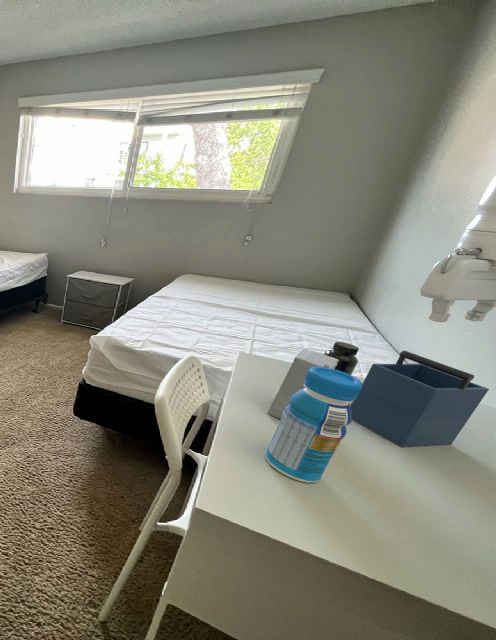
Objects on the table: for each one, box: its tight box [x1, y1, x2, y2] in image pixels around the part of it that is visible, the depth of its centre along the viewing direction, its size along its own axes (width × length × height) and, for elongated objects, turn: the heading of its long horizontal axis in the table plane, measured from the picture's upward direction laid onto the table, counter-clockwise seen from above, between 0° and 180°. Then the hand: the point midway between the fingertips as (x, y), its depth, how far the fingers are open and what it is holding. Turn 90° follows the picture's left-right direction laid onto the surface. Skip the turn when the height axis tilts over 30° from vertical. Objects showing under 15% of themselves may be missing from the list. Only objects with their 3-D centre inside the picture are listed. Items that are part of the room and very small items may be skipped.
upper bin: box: [361, 350, 490, 420], centre depth 75 cm, size 13×11×10 cm
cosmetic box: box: [267, 348, 339, 420], centre depth 79 cm, size 8×7×16 cm
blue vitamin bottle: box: [265, 367, 363, 484], centre depth 62 cm, size 8×8×20 cm
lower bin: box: [350, 391, 470, 448], centre depth 78 cm, size 13×11×7 cm
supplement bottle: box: [323, 341, 360, 376], centre depth 97 cm, size 7×7×12 cm
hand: (455, 320), depth 67 cm, fingers open, 8 cm apart
